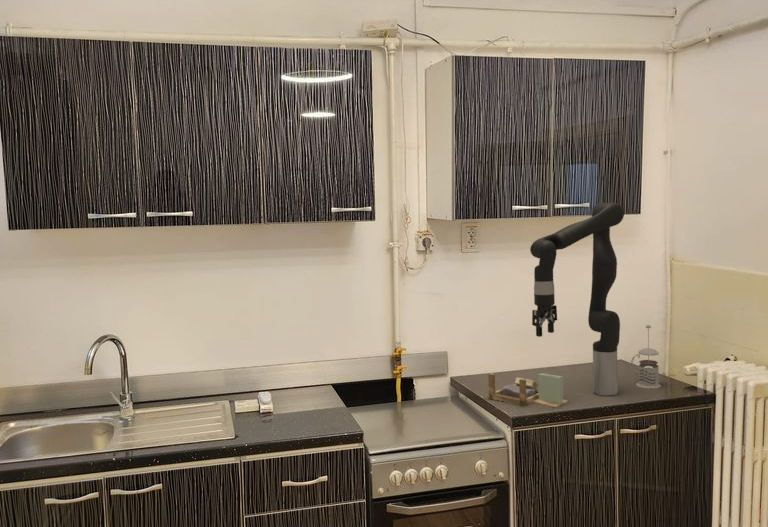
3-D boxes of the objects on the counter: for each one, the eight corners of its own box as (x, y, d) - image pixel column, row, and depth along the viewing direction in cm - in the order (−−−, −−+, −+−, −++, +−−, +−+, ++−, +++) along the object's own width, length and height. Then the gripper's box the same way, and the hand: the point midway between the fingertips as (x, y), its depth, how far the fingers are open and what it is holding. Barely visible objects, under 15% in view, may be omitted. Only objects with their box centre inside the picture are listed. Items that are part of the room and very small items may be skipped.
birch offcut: (520, 389, 287) (523, 384, 288) (537, 392, 282) (540, 387, 283) (514, 382, 284) (516, 377, 285) (531, 385, 278) (533, 380, 279)
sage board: (542, 398, 272) (542, 373, 271) (563, 402, 266) (562, 376, 265) (538, 399, 270) (538, 374, 269) (559, 403, 264) (559, 377, 263)
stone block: (513, 395, 286) (499, 396, 279) (514, 383, 286) (500, 384, 279) (538, 401, 278) (524, 402, 271) (539, 389, 278) (525, 390, 271)
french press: (657, 389, 279) (657, 328, 277) (628, 385, 286) (627, 325, 284) (664, 384, 287) (664, 323, 285) (635, 380, 294) (635, 321, 292)
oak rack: (514, 388, 289) (513, 364, 288) (548, 395, 278) (548, 370, 277) (488, 398, 276) (488, 374, 275) (523, 406, 265) (523, 380, 264)
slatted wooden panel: (545, 397, 275) (545, 396, 275) (568, 401, 268) (568, 400, 268) (532, 402, 268) (532, 401, 268) (556, 407, 261) (556, 406, 261)
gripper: (543, 295, 258) (544, 338, 260) (562, 290, 268) (563, 332, 270) (525, 294, 263) (526, 336, 265) (545, 289, 274) (546, 330, 275)
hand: (545, 334), depth 267 cm, fingers open, 8 cm apart
